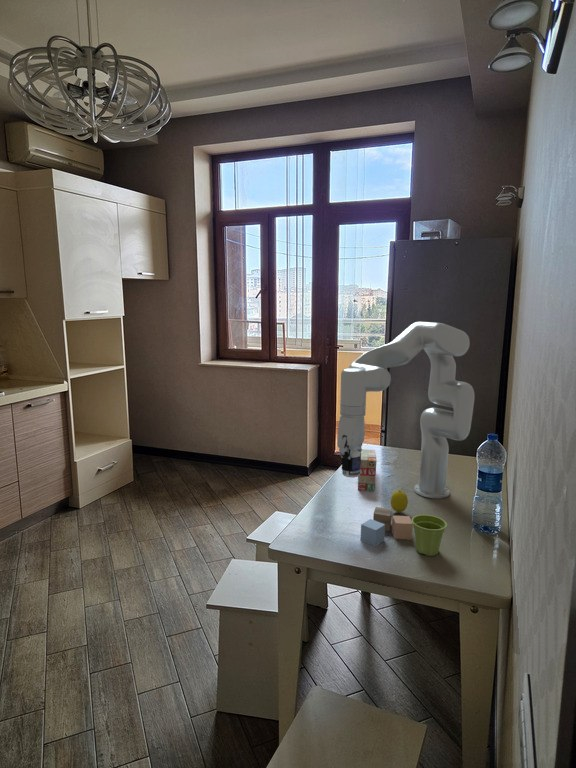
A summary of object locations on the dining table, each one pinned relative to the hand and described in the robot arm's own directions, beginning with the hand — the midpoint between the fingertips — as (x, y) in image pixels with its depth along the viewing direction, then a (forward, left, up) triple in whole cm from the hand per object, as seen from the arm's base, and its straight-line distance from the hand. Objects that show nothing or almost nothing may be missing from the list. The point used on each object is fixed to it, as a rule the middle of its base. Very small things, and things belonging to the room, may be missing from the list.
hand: (351, 466), depth 144 cm
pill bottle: (0, 0, -3) cm, 3 cm away
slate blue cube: (+5, +10, -19) cm, 22 cm away
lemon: (-17, +10, -19) cm, 28 cm away
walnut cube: (-5, +9, -19) cm, 22 cm away
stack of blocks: (-38, -11, -19) cm, 44 cm away
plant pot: (+1, +25, -19) cm, 31 cm away
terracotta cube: (-3, +16, -19) cm, 25 cm away
